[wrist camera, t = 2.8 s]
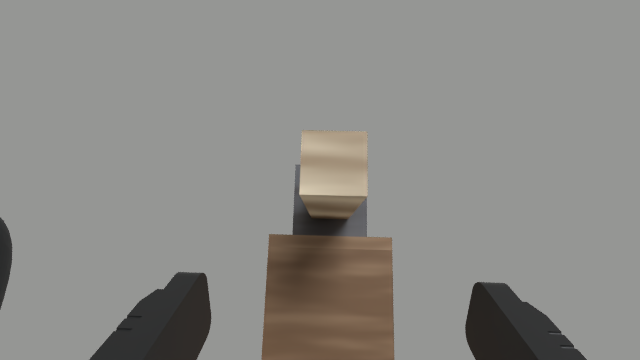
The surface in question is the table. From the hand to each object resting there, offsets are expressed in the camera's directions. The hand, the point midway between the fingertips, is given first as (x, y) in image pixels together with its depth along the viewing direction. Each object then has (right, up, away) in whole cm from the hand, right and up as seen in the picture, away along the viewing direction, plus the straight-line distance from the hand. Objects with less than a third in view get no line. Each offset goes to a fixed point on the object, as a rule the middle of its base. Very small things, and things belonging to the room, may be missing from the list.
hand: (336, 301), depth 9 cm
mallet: (0, -1, +17) cm, 17 cm away
